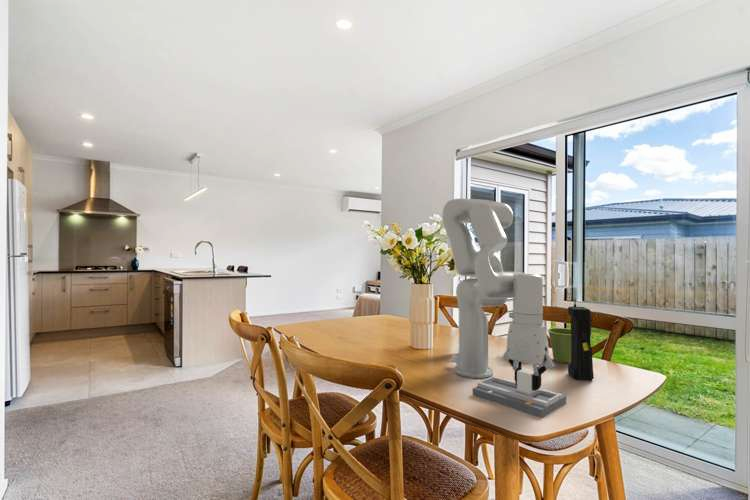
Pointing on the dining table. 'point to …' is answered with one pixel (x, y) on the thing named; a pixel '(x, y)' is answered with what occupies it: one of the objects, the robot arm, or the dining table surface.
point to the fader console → (518, 397)
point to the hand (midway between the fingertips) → (527, 386)
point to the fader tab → (525, 383)
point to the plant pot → (561, 344)
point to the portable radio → (580, 344)
